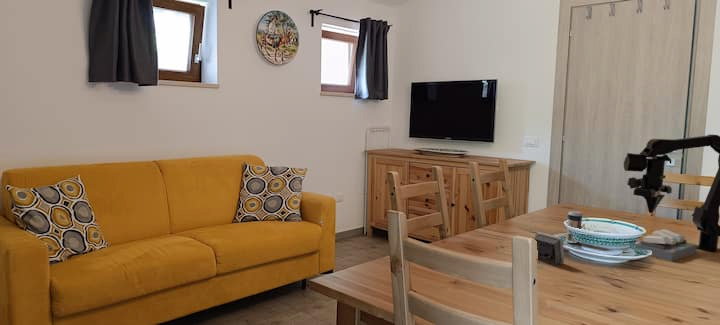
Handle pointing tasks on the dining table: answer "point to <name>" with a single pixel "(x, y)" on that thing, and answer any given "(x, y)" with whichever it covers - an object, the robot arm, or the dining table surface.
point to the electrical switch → (549, 248)
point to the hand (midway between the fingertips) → (650, 212)
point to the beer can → (573, 223)
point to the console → (669, 250)
